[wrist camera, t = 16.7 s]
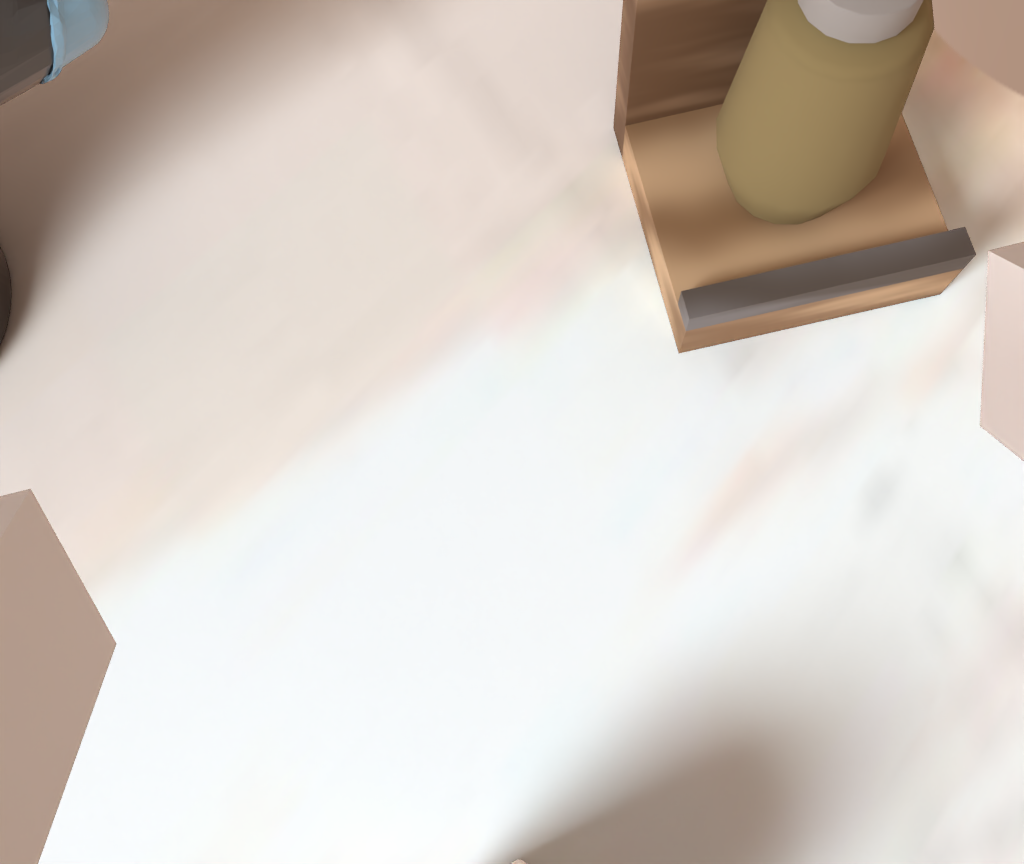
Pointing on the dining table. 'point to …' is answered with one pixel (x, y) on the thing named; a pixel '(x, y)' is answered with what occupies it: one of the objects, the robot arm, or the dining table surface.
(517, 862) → the jar
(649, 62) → the wooden bookend
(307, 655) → the dining table surface
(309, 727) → the dining table surface
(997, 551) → the dining table surface
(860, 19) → the squeeze bottle
